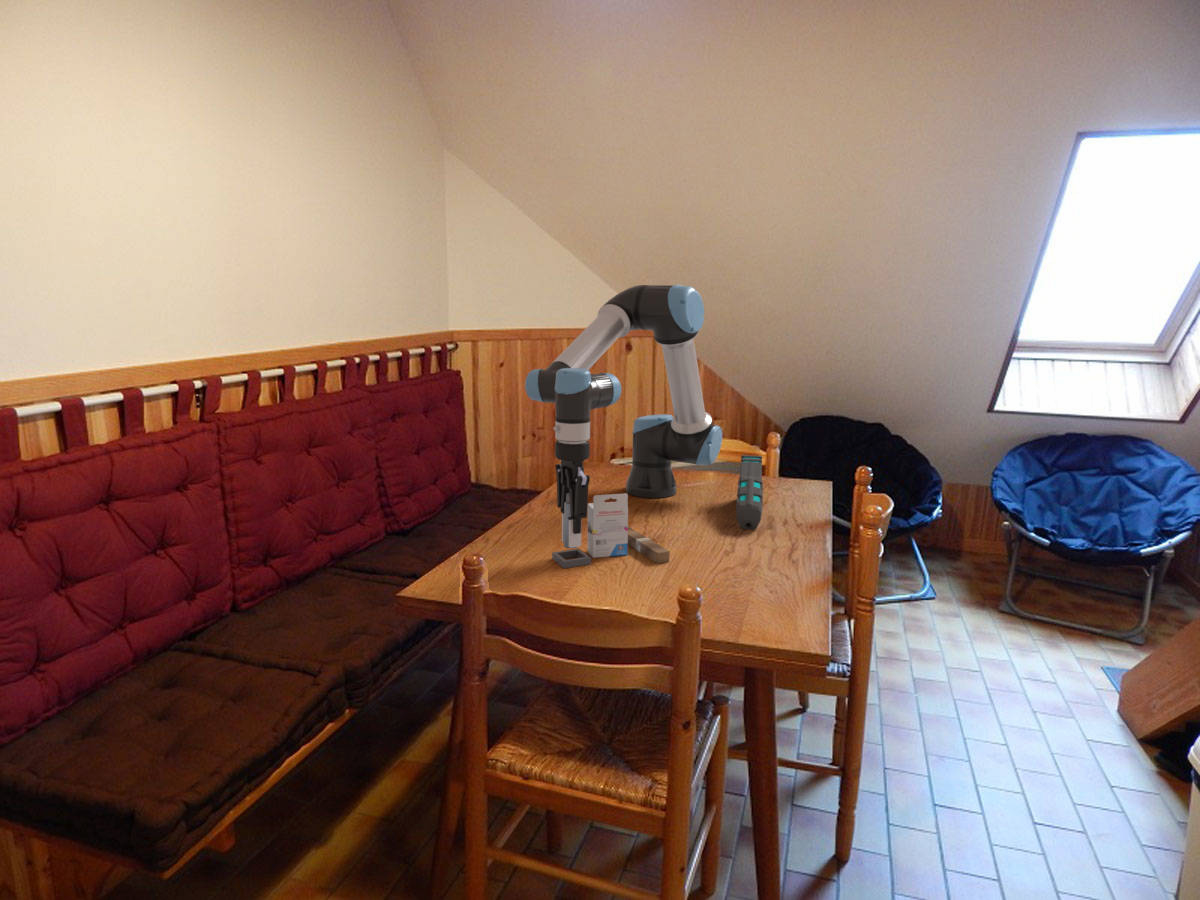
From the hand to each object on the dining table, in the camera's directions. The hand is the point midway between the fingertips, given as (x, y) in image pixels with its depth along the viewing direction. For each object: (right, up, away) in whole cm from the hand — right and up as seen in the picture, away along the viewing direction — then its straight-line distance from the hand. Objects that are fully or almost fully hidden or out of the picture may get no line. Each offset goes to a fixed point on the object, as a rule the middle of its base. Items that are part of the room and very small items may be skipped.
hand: (571, 543), depth 171 cm
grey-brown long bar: (+15, -2, +12) cm, 19 cm away
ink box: (+8, -3, +7) cm, 11 cm away
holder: (0, -4, +1) cm, 4 cm away
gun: (+47, +3, +39) cm, 61 cm away
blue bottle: (0, -1, 0) cm, 1 cm away
